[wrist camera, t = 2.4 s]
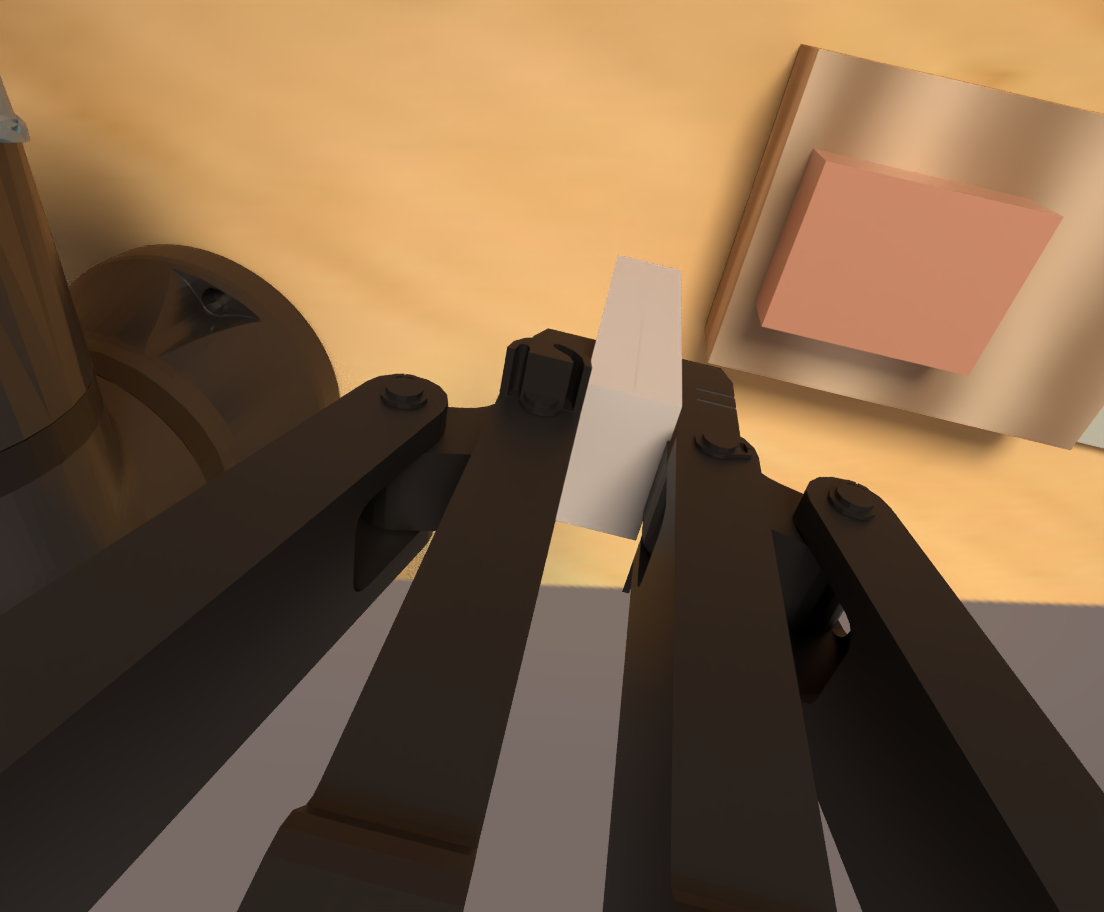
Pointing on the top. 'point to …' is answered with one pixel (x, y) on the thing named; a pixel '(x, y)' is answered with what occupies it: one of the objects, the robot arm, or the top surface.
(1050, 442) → the deck
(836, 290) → the tile
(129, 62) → the top surface
